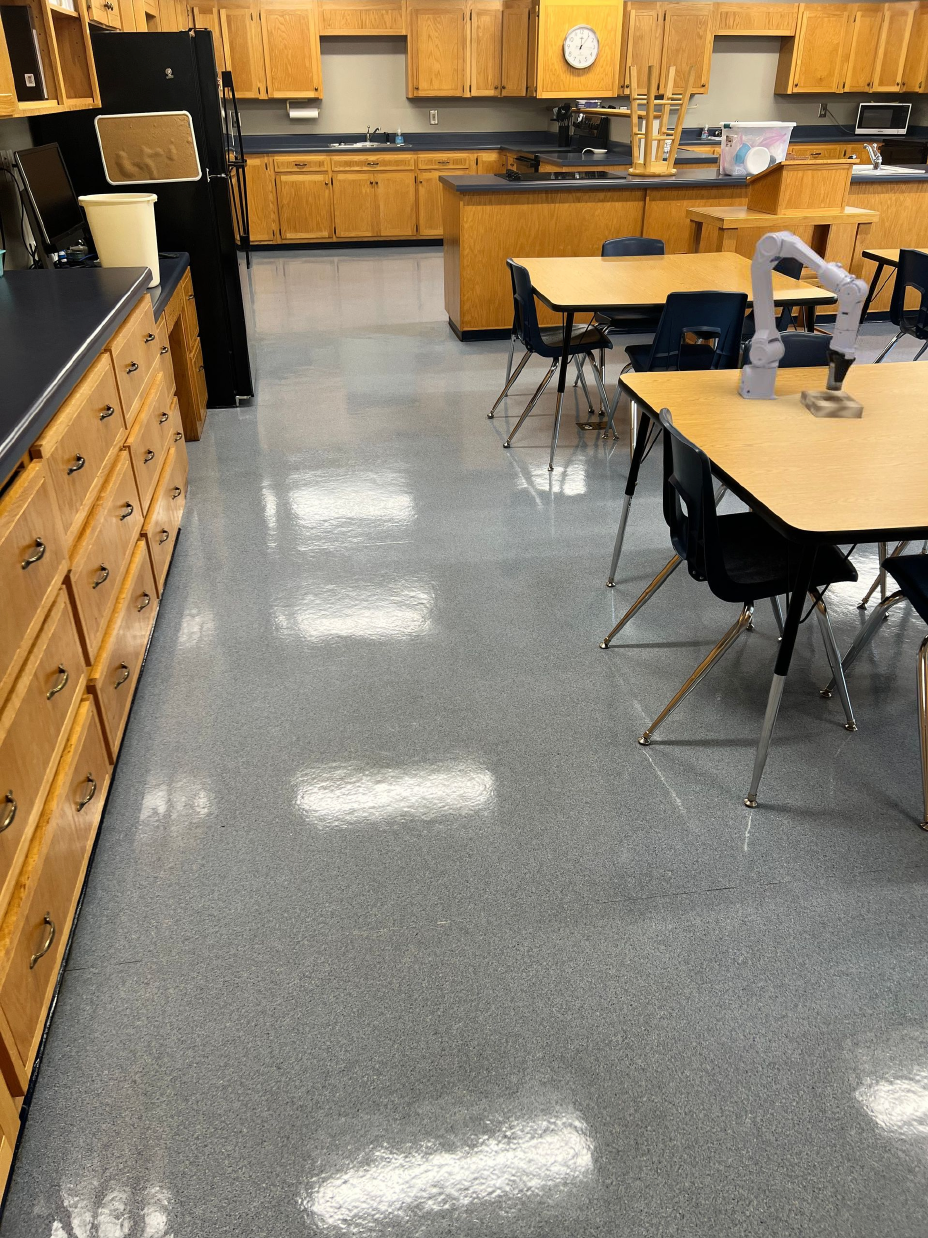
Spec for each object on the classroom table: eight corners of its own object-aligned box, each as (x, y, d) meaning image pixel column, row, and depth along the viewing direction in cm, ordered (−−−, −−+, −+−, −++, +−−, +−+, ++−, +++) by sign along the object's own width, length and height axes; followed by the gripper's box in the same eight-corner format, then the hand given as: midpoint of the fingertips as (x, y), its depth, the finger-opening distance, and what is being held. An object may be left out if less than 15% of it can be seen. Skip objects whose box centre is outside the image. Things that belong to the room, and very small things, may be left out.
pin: (828, 390, 244) (833, 364, 241) (823, 387, 248) (828, 361, 245) (843, 390, 244) (848, 364, 241) (838, 387, 248) (843, 361, 244)
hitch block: (815, 416, 242) (818, 405, 241) (799, 401, 256) (801, 390, 255) (861, 417, 241) (863, 406, 240) (842, 401, 255) (845, 391, 254)
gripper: (870, 334, 232) (859, 386, 238) (852, 323, 245) (842, 373, 251) (842, 333, 232) (832, 386, 239) (826, 323, 245) (816, 373, 251)
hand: (835, 380), depth 245 cm, fingers closed on pin, 4 cm apart
